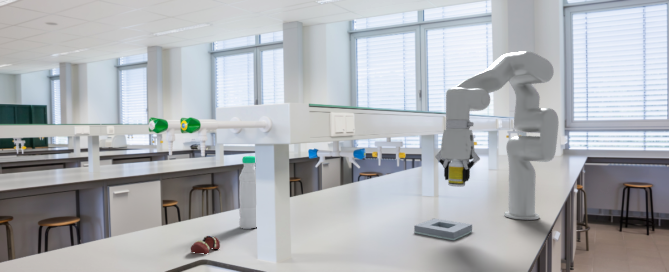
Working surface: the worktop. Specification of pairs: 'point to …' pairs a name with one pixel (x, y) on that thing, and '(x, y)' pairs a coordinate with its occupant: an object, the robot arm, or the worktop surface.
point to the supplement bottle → (456, 173)
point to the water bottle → (247, 194)
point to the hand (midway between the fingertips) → (456, 179)
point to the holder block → (443, 229)
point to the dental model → (205, 245)
